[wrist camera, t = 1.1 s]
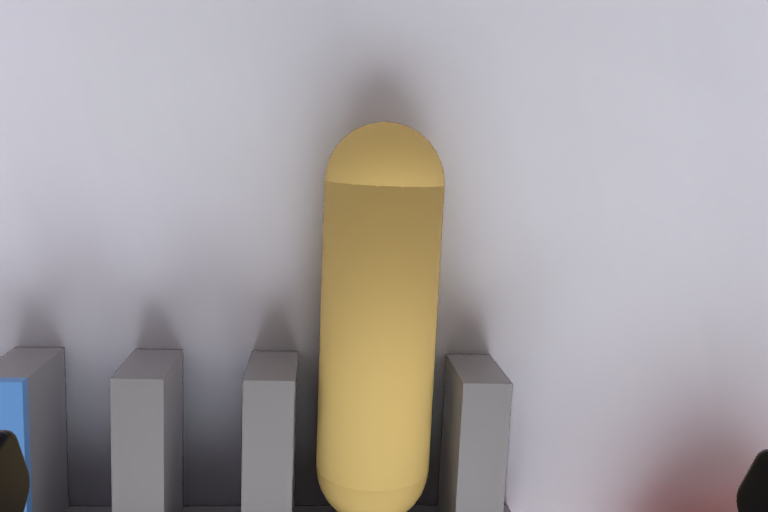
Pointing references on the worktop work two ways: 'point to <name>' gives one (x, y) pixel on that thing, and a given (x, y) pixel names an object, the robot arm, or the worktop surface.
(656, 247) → the worktop surface
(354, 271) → the yellow rounded cylinder
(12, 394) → the slotted dish rack
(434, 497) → the worktop surface
